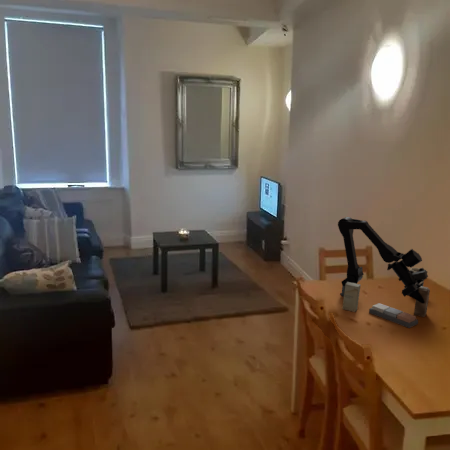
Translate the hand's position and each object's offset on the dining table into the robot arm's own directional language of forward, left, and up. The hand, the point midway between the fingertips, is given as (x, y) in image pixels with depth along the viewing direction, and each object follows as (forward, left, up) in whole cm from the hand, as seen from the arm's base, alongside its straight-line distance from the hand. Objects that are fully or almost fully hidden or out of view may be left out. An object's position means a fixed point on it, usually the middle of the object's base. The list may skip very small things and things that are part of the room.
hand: (425, 301), depth 218 cm
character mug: (+9, +26, -7) cm, 29 cm away
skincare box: (-32, +6, -7) cm, 33 cm away
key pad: (-16, -4, -7) cm, 18 cm away
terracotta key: (-13, -9, -5) cm, 16 cm away
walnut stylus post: (-1, +1, -7) cm, 7 cm away
